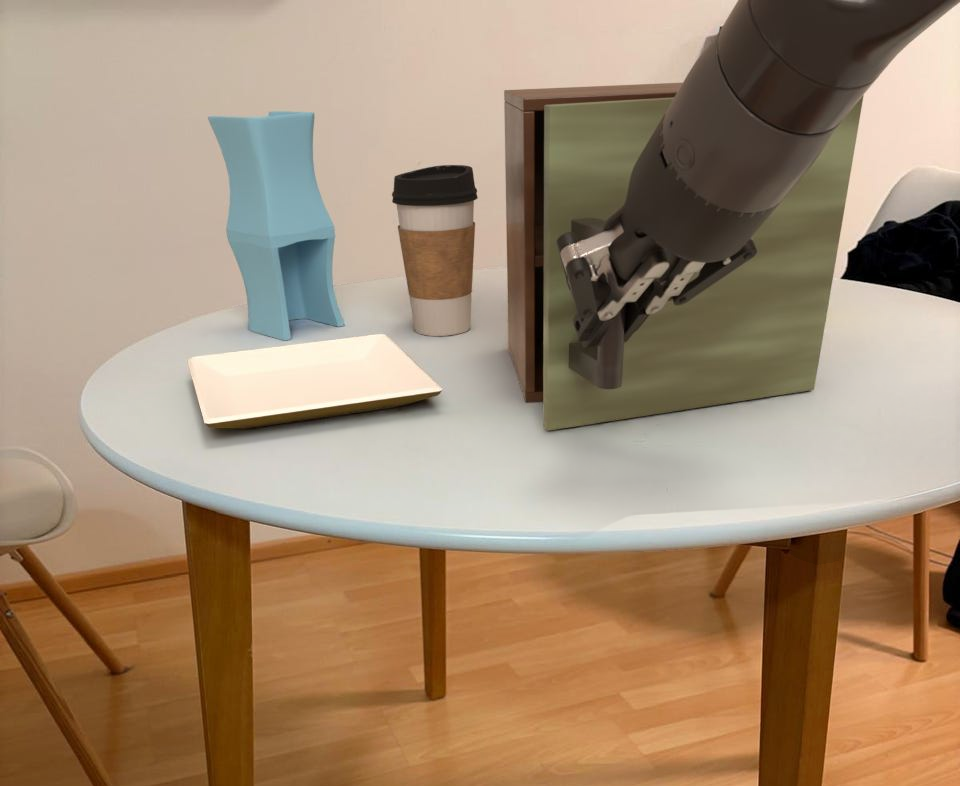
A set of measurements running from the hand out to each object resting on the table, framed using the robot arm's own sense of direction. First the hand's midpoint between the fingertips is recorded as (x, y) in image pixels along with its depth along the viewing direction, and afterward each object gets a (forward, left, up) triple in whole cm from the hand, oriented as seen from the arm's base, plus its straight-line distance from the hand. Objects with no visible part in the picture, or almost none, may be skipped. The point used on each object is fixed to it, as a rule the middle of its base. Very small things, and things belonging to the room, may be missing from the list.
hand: (599, 332), depth 62 cm
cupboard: (-8, -18, -8) cm, 21 cm away
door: (-9, -4, -8) cm, 12 cm away
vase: (+26, -39, -8) cm, 48 cm away
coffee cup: (+10, -35, -8) cm, 38 cm away
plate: (+22, -15, -8) cm, 28 cm away
